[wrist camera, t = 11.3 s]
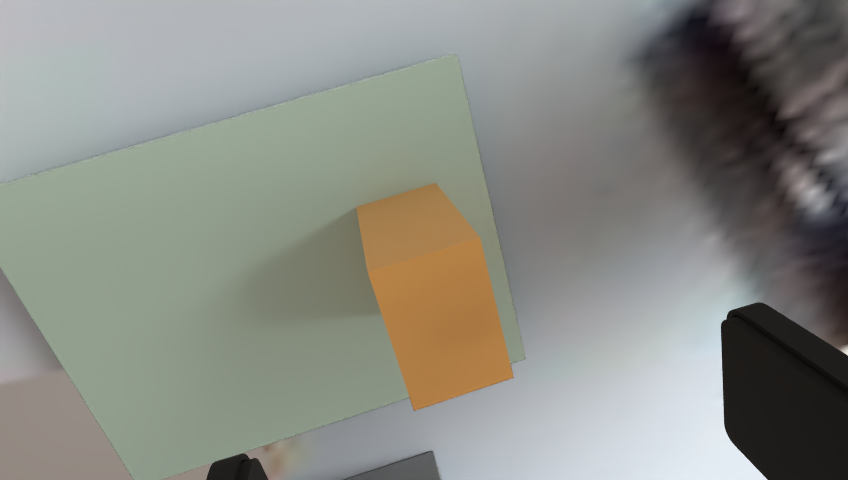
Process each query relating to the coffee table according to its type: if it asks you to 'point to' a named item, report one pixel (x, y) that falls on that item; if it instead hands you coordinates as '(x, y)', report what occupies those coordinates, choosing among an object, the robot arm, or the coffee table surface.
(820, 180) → the coffee table surface
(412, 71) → the lid
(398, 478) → the tub
